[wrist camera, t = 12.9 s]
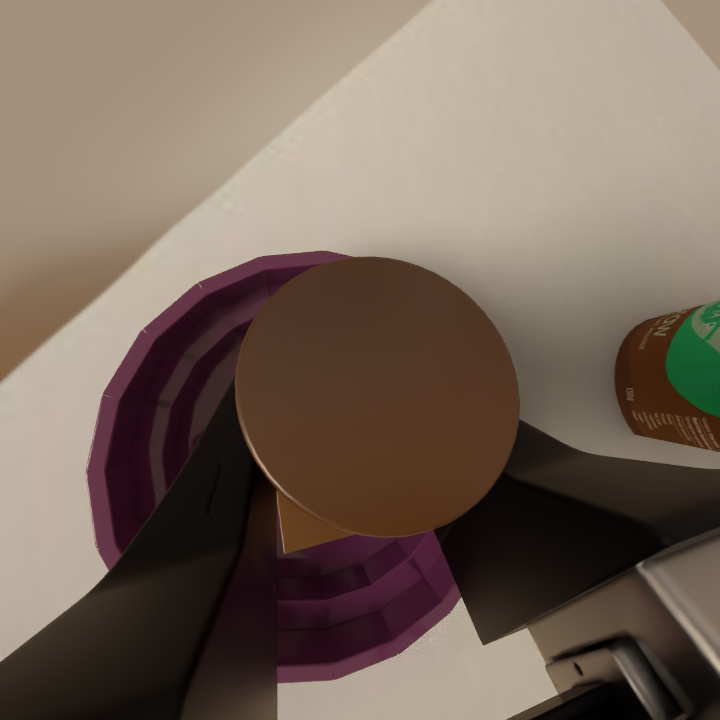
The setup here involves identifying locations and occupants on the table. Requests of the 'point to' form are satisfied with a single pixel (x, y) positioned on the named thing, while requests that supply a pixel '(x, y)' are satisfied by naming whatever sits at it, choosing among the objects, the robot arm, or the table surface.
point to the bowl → (295, 569)
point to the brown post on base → (374, 401)
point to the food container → (673, 377)
